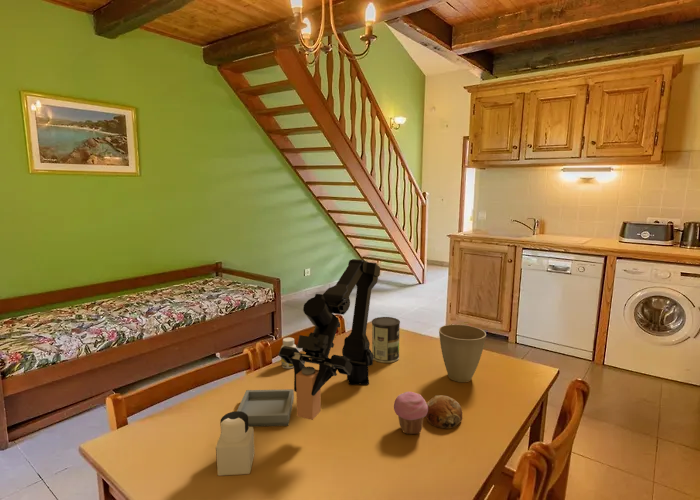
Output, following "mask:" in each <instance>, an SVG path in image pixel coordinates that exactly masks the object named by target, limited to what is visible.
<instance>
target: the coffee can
mask: <svg viewBox="0 0 700 500" xmlns="http://www.w3.org/2000/svg"><path fill="white" fill-rule="evenodd" d="M400 325H401V321H400V319H398V318H396V317H390V316H379V317H378V316H377V317H375V318H373V319H371V326H372V327H371V330H372V331H371V337H372V338H371V339H372V340H371V341H372V342H371V343H372V344H371V352H372V354H373V355H374V356H373V361H376V362H378V363H382V364H391V363H395V362H398V360H400Z"/></svg>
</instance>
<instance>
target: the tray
mask: <svg viewBox="0 0 700 500" xmlns="http://www.w3.org/2000/svg"><path fill="white" fill-rule="evenodd" d="M294 393H295V391H294V388H292V389H288V388H287V389H247V390H245V393H244V395H243V397H242V399H241V401H240V404H239V405H238V407H237V410H236V411H241V412H244V413H246V414H247V415H248V424H249V427H284V426H285V427H287V426H289V423H290V419H291V414H292V409H293V404H294V399H295V396H294V395H295V394H294Z"/></svg>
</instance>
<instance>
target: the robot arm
mask: <svg viewBox="0 0 700 500" xmlns="http://www.w3.org/2000/svg"><path fill="white" fill-rule="evenodd" d="M380 274H381V267H380V266H379V265H378V263H377V262H372V261H371V262H370V261H369V262H368V261H367V260H364V259H358V258H352V259H350V260H348V264H347V267H346V269H345V270H344V271H343V273H342V274H341V276H340V278H339V279H338V281H337V282H336V284H335V285H334V286H330V287H329V288H327V289H326V290H325V291H324V292H323V293H315V295H314V297H311V298H309V299H308V300H307V301H306V302H305V303H303V308H302V309H303V310H302V311H303V313H304V315H305V316H306V317H307V318H308V320H309V321H310V322H311V324H312V325H313V326H314V329H313V332H310V333H309V335H301V334H299V335H298V340H297V344H296V348H294V347H288V346H284V347H282V348H281V347H280V350H279V352H278V355H277V356H279V357H280V358H282V359H283V360H284V361H285V362H286V363H288V364H293V366H294V368H293V372H294V378H293V381H294V382H293V383H294V384H293V389H294V393H296V374H297V373H299V372H300V371H301V370H302V368H304V367H306V366H305V364H306V363H309V364H314V365H319V366H318V370H319V373H318V375H317V378H316V381H315V383H314V386H313V389H312V393H311V395H312V396H314V395H315V394H316V393H317V392H318V391H319V390H320V388H321V389H322V388H323V386H324V385H325V384H326V383H327V382H328V381H330V380H331V379H332V377H336V376H338V373H339V374H342V375H346V379H347V381H348V385H349V386H350V385H351V386H352V385H361V386H362V385H369V384H370V381H369V380H370V379H369V367H370V366H373V365H374V364H373V363H374V359H373V356H374V355H373V354H372V349H371V348H370V345H371V344H370V343H371V342H370V340H369V339H368V336H367V329H368V320H369V313H370V303H371V295H372V290H373V288H374V287H375V286H376V284H378V280H379V277H380ZM355 287H356V294H355V300H354V308H353V316H352V324H351V332H350V333H349V335H348V336H345V338H344V341H343V346H342V350H341V354H342V355H338V354H332V355H331V357H330V358H329V355H330V351H331V349H333V348H334V346H335V343H334V339H335V336H336V333H337V330H338V328H341V322H340V320H339V317H338V316H336V315H345V314H346V313H347V311H349V308H350V305H351V300H350V295H351V293H352V291H354V288H355ZM298 349H301V350H302V351H303V353H301V352H300V351H299V350H298ZM337 372H338V373H337Z"/></svg>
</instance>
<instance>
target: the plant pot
mask: <svg viewBox="0 0 700 500" xmlns="http://www.w3.org/2000/svg"><path fill="white" fill-rule="evenodd" d="M438 333H439V343H440V348H441V354H442V359H443V362H444V363H443V364H444V367H445V370H446V372H447V376H448V378H449V379H450V380H452V381H454V382H458V383H468V382H471V380H472V379H473V377H474V375H475V373H476V370H477V368H478V366H479V363H480V360H481V357H482V354H483V351H484V346H485V344H486V343H485V341H486V337H487V332H486V331H485V330H483V329H481V328H479V327H476V326H472V325H468V324H458V323H456V324H453V323H452V324H445V325H442V326H440V327H439V329H438Z"/></svg>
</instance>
